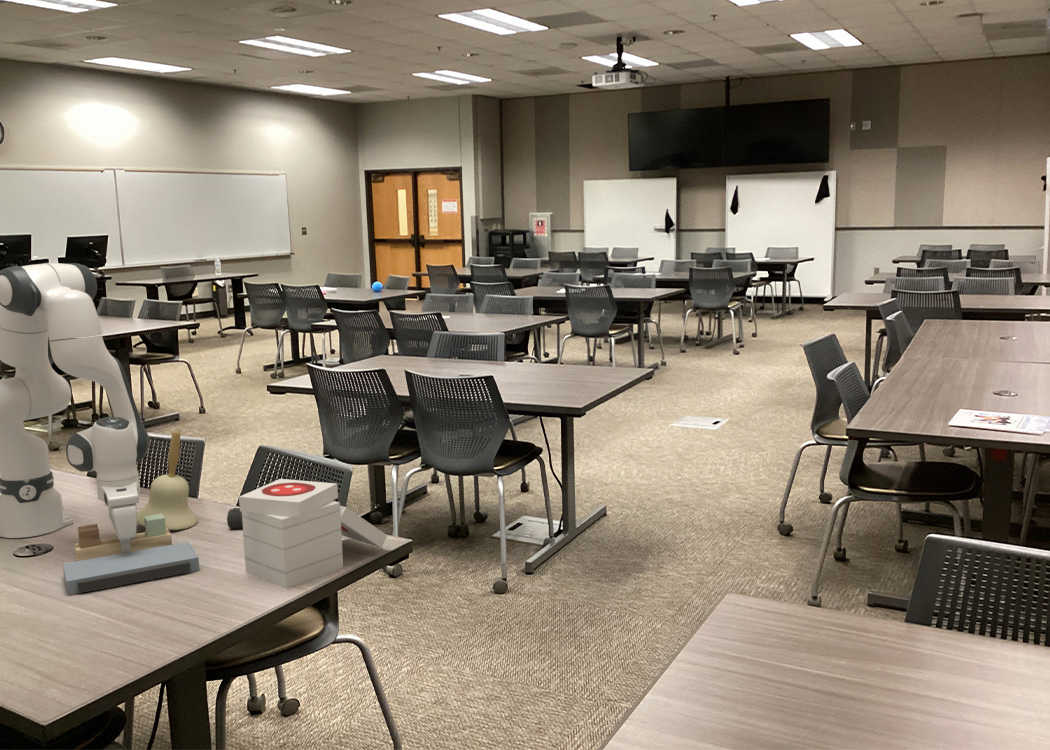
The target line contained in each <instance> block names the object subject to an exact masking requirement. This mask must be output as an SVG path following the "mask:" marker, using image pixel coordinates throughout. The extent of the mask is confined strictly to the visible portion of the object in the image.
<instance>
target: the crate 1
mask: <svg viewBox="0 0 1050 750" xmlns="http://www.w3.org/2000/svg"><path fill="white" fill-rule="evenodd" d="M77 535H78V543H79V545H80V548H81V549H83V548H89V547H95V546H100V540H101V539H100V528H99V525H98V523H94V524H89V525H80V526H77Z"/></svg>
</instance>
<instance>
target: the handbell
mask: <svg viewBox="0 0 1050 750" xmlns="http://www.w3.org/2000/svg"><path fill="white" fill-rule="evenodd" d="M171 434H172V435H171V439H170V443H169V449H168V456H167V458H168V460H167V461H168V462H167V464H168V466H167V467H168V474H163V475H159V476H158V477H156V478H155V479H154V480H153V481H152V482H151V484H150V488H149V499H148V501H147V503H146V504H145V505H144V506H143V507H142V508H140V509H139V510H138V511H137V524H138V525H139V526H142V527H143V528H145V523H144V516H150V515H156V514H163V516H164V518H165V526H166V529H168V530H169V531H181V530H186V529H188V528H189V529H190V528H192V527H194V526H195V525H197V523H198V522H199V519H198V515H197V514H196V513H195V512H194V511H193V510H192V509H191V508H190V506H189V504H188V499H189V492H190V488H189V486H190V485H189V483H188V481H187V480H186V479H185V478H184V477H182V476H180V475H177V474H176V469H177V466H178V463H179V459H180V458H179V457H180V450H181V432H180V431H179V430H173V432H172V433H171Z"/></svg>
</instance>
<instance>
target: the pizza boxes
mask: <svg viewBox="0 0 1050 750" xmlns="http://www.w3.org/2000/svg"><path fill="white" fill-rule="evenodd" d="M338 488H339V487H338V483H333V482H324V481H323V482H321V481H311V480H309V481H308V480H300V479H299V480H298V479H288V478H287V479H285V478H279V479H277V480H274V481H272V482H270V483H268V484H266V485H263V486H260V487H258V488H256V489H253V490H252V491H250V492H247V493H244V494H243V495H240V496H238V502H239V503H238V504H239V508H240V511H241V512H242V522H243V528H242V534H243V537H242V538H243V550H244V562H245V565H244V566H245V573H247V574H248V575H252V576H255V577H256V578H260V579H261V580H265V581H267V582H270V583H272V584H274V585H277V586H279V587H282V588H284V589H287V588H291V587H294V586H297V585H299V584H302V583H305V582H308V581H310V580H311V581H312V580H313V579H316V578H318V577H321V576H325V575H327V574H329V573H332V572H335V571H338V570H340V569H343V568H344V561H343V557H344V556H343V541H342V536H343V537H345V538H349V539H352V540H355V541H358V542H362V543H365V544H368V545H371V546H374V547H377V548H380V549H381V548H382V547H383V545H384V543H385V542H386V540H387V537H388V534H386V533H385V532H384V531H382V530H380V529H379V528H377V527H376V526H374V525H373V524H372V523H370V522H368V521H367V520H366V519H364V518H363V517H361V516H360V515H358V514H357V513H355V512H353V510H351V509H350V508H348V507H346V506H344V505H341V503H340V501H336V499H338V498H339V493H338V492H339V491H338Z"/></svg>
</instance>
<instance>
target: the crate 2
mask: <svg viewBox="0 0 1050 750" xmlns="http://www.w3.org/2000/svg"><path fill="white" fill-rule="evenodd" d="M144 523H145V527H144V532H145V533H146V535H147V537H148V538H149V537H155V536H161V535H166V526H165V518H164V516H163V514H156V515H150V516H144Z"/></svg>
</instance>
